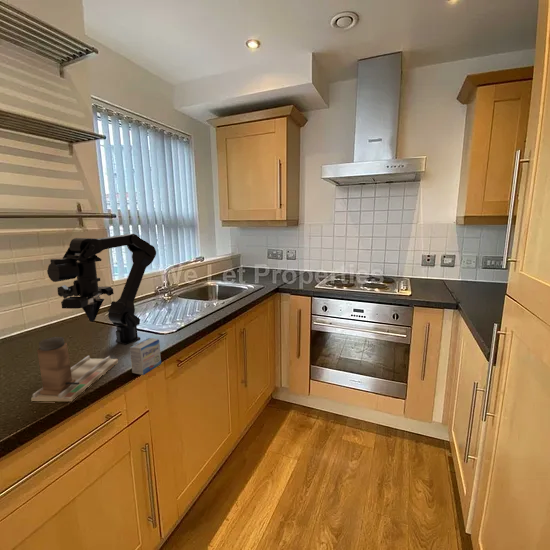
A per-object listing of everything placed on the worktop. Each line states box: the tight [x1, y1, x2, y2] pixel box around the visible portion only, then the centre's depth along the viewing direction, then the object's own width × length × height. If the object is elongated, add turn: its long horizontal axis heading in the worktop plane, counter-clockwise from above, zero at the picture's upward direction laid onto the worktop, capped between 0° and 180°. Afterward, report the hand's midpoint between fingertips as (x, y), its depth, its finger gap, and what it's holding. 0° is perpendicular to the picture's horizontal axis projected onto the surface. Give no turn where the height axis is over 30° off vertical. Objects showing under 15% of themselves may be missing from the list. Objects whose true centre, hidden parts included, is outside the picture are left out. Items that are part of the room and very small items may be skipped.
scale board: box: [31, 355, 119, 402], centre depth 88 cm, size 22×10×2 cm, turn 178°
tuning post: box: [36, 336, 79, 395], centre depth 80 cm, size 6×8×14 cm
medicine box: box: [129, 337, 162, 376], centre depth 94 cm, size 8×4×9 cm, turn 158°
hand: (92, 321), depth 103 cm, fingers closed
